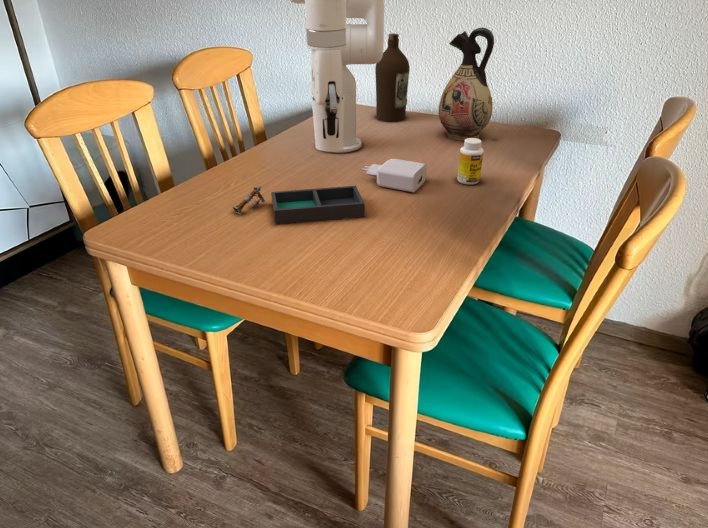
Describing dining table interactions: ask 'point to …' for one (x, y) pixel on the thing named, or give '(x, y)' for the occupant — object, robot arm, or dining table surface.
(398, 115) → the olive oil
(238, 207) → the wooden post with brackets
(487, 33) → the ceramic jug
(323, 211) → the grey divided tray
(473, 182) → the supplement bottle
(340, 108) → the coffee cup
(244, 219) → the dining table surface
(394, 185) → the charger
